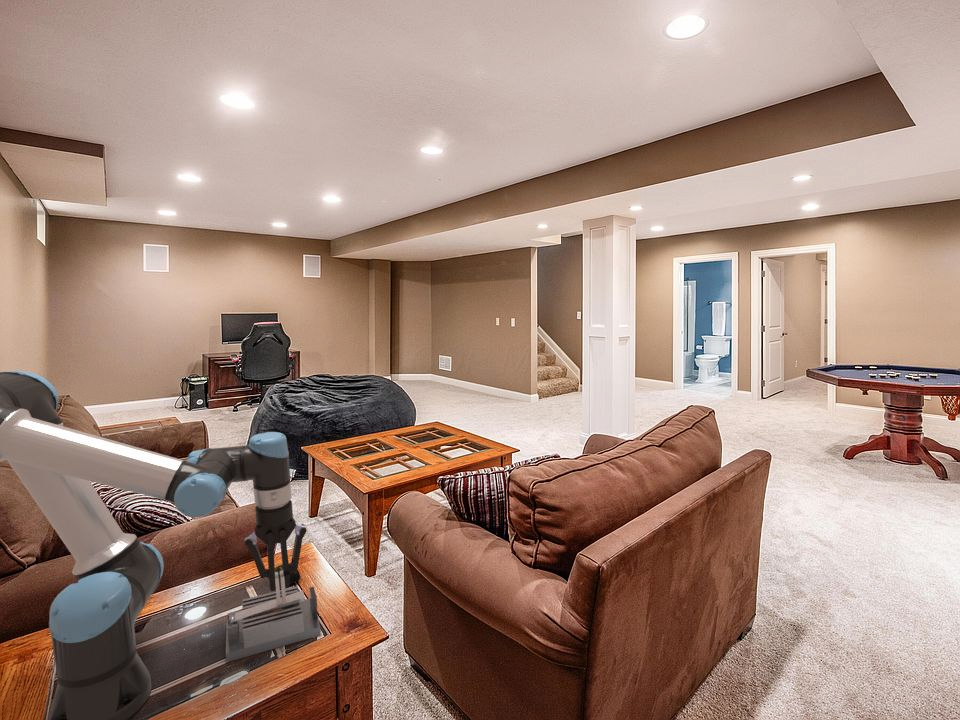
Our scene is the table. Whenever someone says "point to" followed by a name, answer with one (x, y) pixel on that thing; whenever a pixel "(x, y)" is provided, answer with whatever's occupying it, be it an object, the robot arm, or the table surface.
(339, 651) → the table surface
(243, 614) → the grey flat bar
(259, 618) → the heatsink
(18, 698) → the table surface
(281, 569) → the tape measure
